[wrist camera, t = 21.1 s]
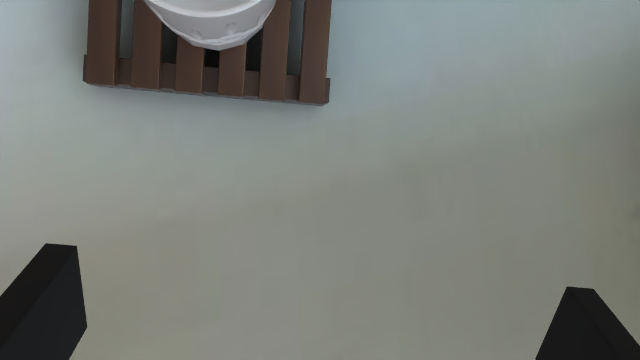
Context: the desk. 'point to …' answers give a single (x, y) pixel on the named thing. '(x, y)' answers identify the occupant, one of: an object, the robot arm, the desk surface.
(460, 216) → the desk surface
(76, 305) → the robot arm
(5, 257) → the desk surface
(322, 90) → the slatted wooden rack
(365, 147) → the desk surface
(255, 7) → the white cup
